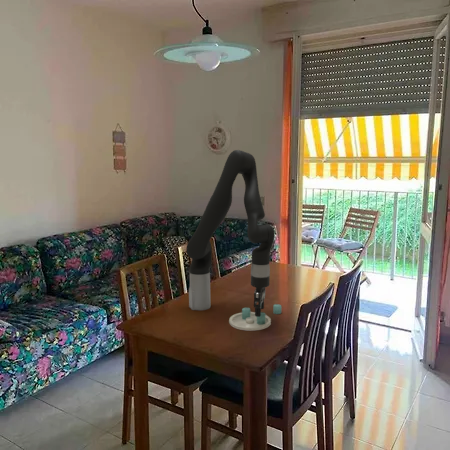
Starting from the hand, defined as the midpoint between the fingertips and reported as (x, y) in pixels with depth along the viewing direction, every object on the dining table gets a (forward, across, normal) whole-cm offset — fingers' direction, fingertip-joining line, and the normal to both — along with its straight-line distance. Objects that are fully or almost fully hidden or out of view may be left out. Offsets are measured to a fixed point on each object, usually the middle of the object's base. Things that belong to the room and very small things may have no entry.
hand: (259, 312), depth 174 cm
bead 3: (+6, +13, -6) cm, 16 cm away
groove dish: (+6, 0, +4) cm, 7 cm away
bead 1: (+5, +4, +6) cm, 9 cm away
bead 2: (+5, 0, -1) cm, 5 cm away
